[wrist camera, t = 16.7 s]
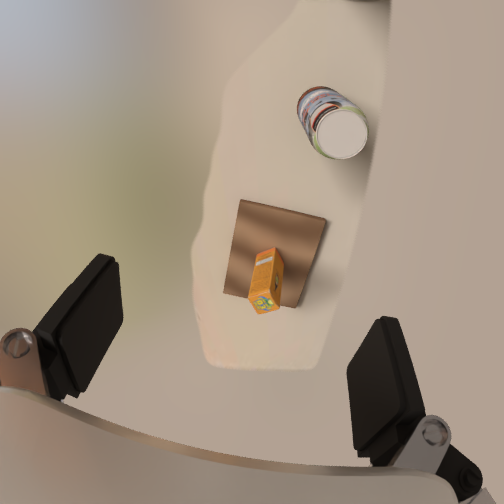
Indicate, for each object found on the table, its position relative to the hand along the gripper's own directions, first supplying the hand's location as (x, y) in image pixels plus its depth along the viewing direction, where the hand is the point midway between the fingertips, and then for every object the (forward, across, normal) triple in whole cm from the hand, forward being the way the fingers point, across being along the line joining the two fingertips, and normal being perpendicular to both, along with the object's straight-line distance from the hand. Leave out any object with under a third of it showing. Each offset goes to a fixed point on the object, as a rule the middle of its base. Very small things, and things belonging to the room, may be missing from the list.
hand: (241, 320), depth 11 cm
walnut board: (+32, -3, +17) cm, 37 cm away
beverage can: (+32, -5, -5) cm, 33 cm away
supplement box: (+32, -3, +17) cm, 36 cm away
